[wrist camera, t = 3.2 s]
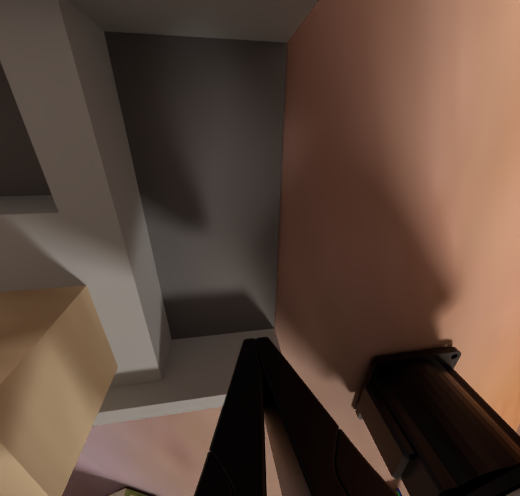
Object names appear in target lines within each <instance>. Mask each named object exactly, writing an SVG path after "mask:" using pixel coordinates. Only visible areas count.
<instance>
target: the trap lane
mask: <svg viewBox="0 0 520 496" xmlns="http://www.w3.org/2000/svg"><path fill="white" fill-rule="evenodd" d="M318 1H319V0H0V292H6V291H19V290H32V289H46V288H59V287H72V286H85V285H87V287H88V290H89V293H90V295H91V298H92V300H93V303H94V306H95V308H96V311H97V313H98V316H99V319H100V321H101V324H102V326H103V329H104V331H105V334H106V337H107V339H108V342H109V344H110V347H111V350H112V352H113V355H114V357H115V360H116V363H117V365H118V368H117V371H116V373H115V375H114V378H113V380H112V382H111V384H110V387H109V389H108V391H107V394H106V396H105V398H104V400H103V403H102V405H101V407H100V410H99V412H98V414H97V417H96V419H95V421H94V423H93V426H98V425H104V424H111V423H118V422H124V421H131V420H137V419H144V418H151V417H157V416H164V415H170V414H177V413H184V412H190V411H197V410H203V409H210V408H217V407H223V404H224V400H225V397H226V394H227V391H228V388H229V384H230V381H231V378H232V375H233V372H234V368H235V365H236V362H237V359H238V356H239V352H240V349H241V346H242V343H243V340H244V339H248V338H255V339H256V338H258V337H269V339H270V340H271V341H272V342H273V344H274V345H275V346H276V347H277V349H278V350H279V351H280V352H281V350H280V347H279V343H278V339H277V336H276V332H275V329H274V328H275V306H276V284H277V261H278V239H279V217H280V195H281V173H282V151H283V129H284V107H285V85H286V62H287V42H288V41H289V40H290V38H291V37H292V36H293V34H294V33H295V32H296V30H297V29H298V28H299V26H300V25H301V24H302V22H303V21H304V20H305V18H306V17H307V16H308V14H309V13H310V12H311V10H312V9H313V8H314V6H315V5H316V4H317V2H318Z"/></svg>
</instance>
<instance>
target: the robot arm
mask: <svg viewBox="0 0 520 496" xmlns="http://www.w3.org/2000/svg"><path fill="white" fill-rule="evenodd" d="M460 356H461V352H460V351H459V350H457V349H456V348H455V347H447V348H439V349H432V350H425V351H417V352H410V353H402V354H395V355H387V356H380V357H376V358H375V359H373V360H372V362H371V364H370V367H369V370H368V373H367V377H366V380H365V383H364V386H363V389H362V392H361V396H360V399H359V402H358V405H357V408H356V414H357V416H358V418H359V419H363V420H364V422H365V424H366V426H367V428H368V430H369V432H370V434H371V436H372V438H373V440H374V442H375V444H376V446H377V448H378V450H379V452H380V454H381V456H382V458H383V460H384V462H385V464H386V466H387V468H388V470H389V472H390V474H391V476H392V477H394V478H395V479H396V480H401V479H402V481H403V483H404V485H405V487H406V489H407V491H408V493H409V495H410V496H520V436H519V435H518V434H517V433H516V432H515V431H514V430H513V429H512V428H511V427H510V426H509V425H508V424H507V423H506V422H505V421H504V420H503V419H502V418H501V417H500V416H499V415H498V414H497V413H496V412H495V411H494V410H493V409H492V408H491V407H490V406H489V405H488V404H487V403H486V402H485V401H484V400H483V399H482V398H481V397H480V396H479V394H478V393H477V392H476V391H475V390H474V389H473V388H472V387H471V386H470V385H469V384H468V383H467V382H466V381H465V380H464V379H463V378H462V377H461V376H460V375H459V374H458V373H457V372H456V371H455V370H454V369H453V368H454V367H455V365H456V363H457V361H458V359H459V358H460ZM264 419H265V423H266V428H267V432H268V436H269V441H270V445H271V449H272V453H273V458H274V462H275V466H276V471H277V475H278V479H279V483H280V488H281V492H282V496H398V495H397V494H396V493H395V492H394V490H393V489H392V488H391V487H390V486H389V485H388V484H387V483H386V482H385V481H384V480H383V478H382V477H381V476H380V475H379V474H378V473H377V472H376V471H375V470H374V468H373V467H372V466H371V465H370V464H369V463H368V462H367V460H366V459H365V458H364V457H363V456H362V454H361V453H360V452H359V451H358V450H357V448H356V447H355V446H354V445H353V444H352V442H351V441H350V440H349V438H348V437H347V436H346V435H345V433H344V432H343V431H342V430H341V429H339V426H338V425H337V423H336V422H335V421H334V420H333V418H332V417H331V416H330V415H329V413H328V412H327V411H326V410H325V408H324V407H323V406H322V404H321V403H320V402H319V401H318V399H317V398H316V397H315V396H314V394H313V393H312V392H311V390H310V389H309V388H308V387H307V385H306V384H305V383H304V382H303V380H302V379H301V378H300V377H299V375H298V374H297V373H296V371H295V370H294V369H293V368H292V366H291V365H290V364H289V363H288V361H287V360H286V359H285V358H284V356H283V355H282V354H281V352H280V351H279V350H278V349H277V347H276V346H275V345H274V344H273V342H272V341H271V340H270V339H269V337H258V338H256V339H255V338H248V339H244V340H243V343H242V346H241V349H240V352H239V356H238V359H237V362H236V365H235V368H234V372H233V375H232V378H231V381H230V384H229V388H228V391H227V394H226V397H225V400H224V404H223V407H222V410H221V413H220V416H219V420H218V423H217V426H216V429H215V432H214V436H213V439H212V442H211V445H210V449H209V450H210V452H208V454H207V458H206V461H205V464H204V467H203V470H202V473H201V476H200V479H199V482H198V485H197V488H196V491H195V494H194V496H267V491H266V461H265V430H264Z"/></svg>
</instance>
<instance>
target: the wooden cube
mask: <svg viewBox="0 0 520 496" xmlns="http://www.w3.org/2000/svg"><path fill="white" fill-rule="evenodd" d="M117 368H118V365H117V363H116V360H115V357H114V355H113V352H112V350H111V347H110V344H109V342H108V339H107V337H106V334H105V331H104V329H103V326H102V324H101V321H100V319H99V316H98V313H97V311H96V308H95V306H94V303H93V300H92V298H91V295H90V293H89V290H88V287H87V285H85V286H72V287H59V288H46V289H32V290H19V291H6V292H0V496H62V495H63V492H64V490H65V488H66V485H67V483H68V481H69V479H70V476H71V474H72V472H73V469H74V467H75V465H76V462H77V460H78V458H79V456H80V453H81V451H82V449H83V446H84V444H85V442H86V439H87V437H88V435H89V433H90V430H91V428H92V426H93V423H94V421H95V419H96V417H97V414H98V412H99V410H100V407H101V405H102V403H103V400H104V398H105V396H106V394H107V391H108V389H109V387H110V384H111V382H112V380H113V378H114V375H115V373H116V371H117Z"/></svg>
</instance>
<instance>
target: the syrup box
mask: <svg viewBox="0 0 520 496" xmlns="http://www.w3.org/2000/svg"><path fill="white" fill-rule="evenodd" d="M109 496H148V495H145V494H142V493H139V492H136V491H133V490H130V489H127V488H125V489H122V490H120V491H117V492H115V493H113V494H111V495H109Z"/></svg>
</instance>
